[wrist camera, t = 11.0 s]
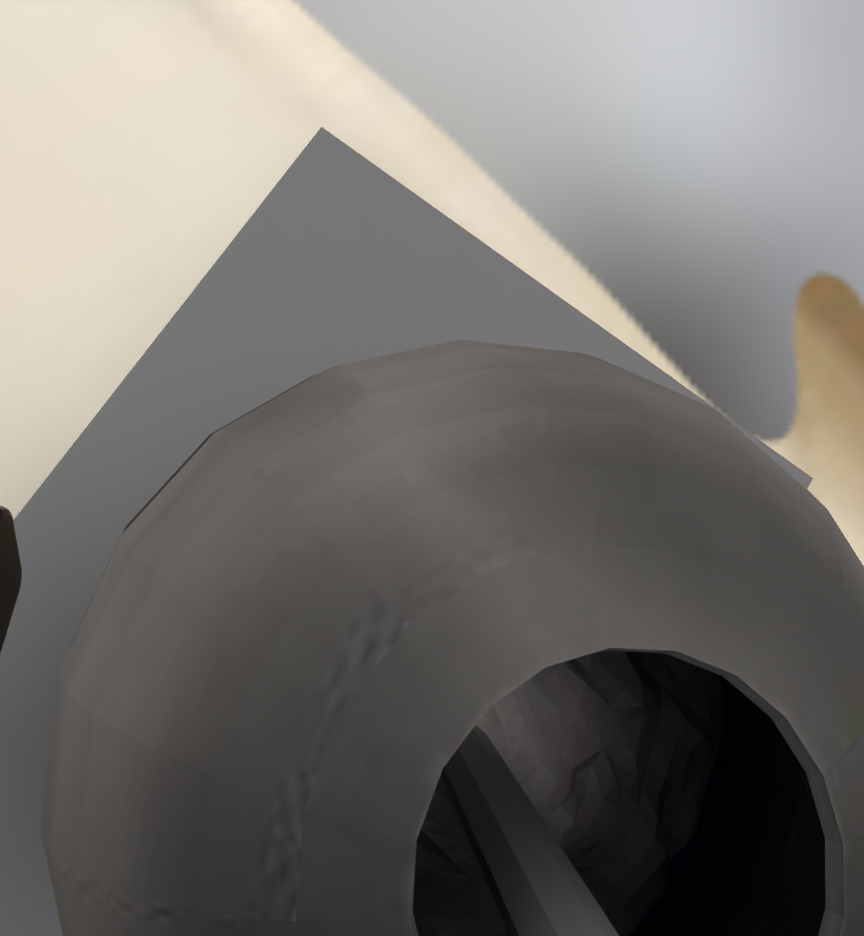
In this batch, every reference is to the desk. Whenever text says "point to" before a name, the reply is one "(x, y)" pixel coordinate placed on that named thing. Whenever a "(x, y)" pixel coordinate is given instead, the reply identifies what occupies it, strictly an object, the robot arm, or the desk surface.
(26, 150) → the desk surface
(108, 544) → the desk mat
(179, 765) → the beverage cup
